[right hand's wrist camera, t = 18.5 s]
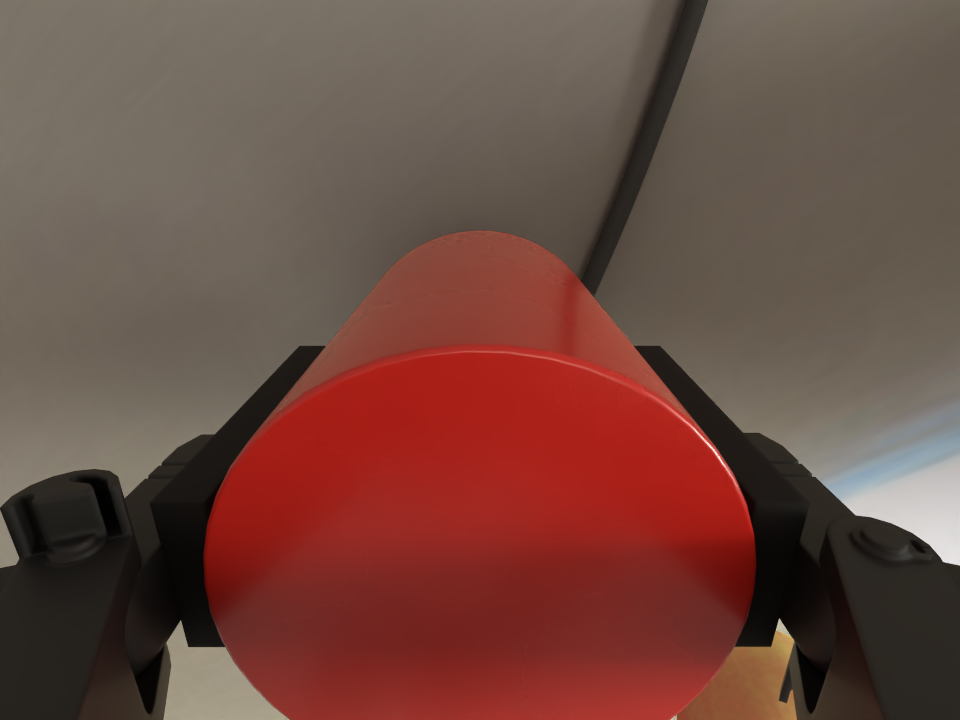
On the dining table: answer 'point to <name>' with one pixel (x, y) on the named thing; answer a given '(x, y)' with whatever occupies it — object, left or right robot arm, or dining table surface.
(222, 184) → the dining table surface
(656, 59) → the dining table surface
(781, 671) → the apple
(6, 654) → the right robot arm
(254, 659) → the can
